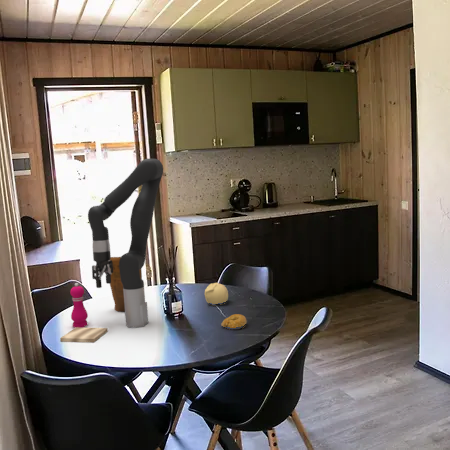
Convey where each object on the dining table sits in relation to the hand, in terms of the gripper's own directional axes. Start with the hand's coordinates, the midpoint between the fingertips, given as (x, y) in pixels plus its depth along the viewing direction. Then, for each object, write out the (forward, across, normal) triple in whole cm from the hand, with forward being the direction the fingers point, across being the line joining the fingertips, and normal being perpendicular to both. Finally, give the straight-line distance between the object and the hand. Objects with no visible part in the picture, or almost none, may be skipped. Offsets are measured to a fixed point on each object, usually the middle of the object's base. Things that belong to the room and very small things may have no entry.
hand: (104, 285), depth 215 cm
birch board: (+18, -15, +2) cm, 24 cm away
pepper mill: (+18, -3, +12) cm, 22 cm away
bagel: (+18, +5, -59) cm, 62 cm away
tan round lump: (+18, +37, -42) cm, 58 cm away
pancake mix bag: (+18, +20, -1) cm, 27 cm away
